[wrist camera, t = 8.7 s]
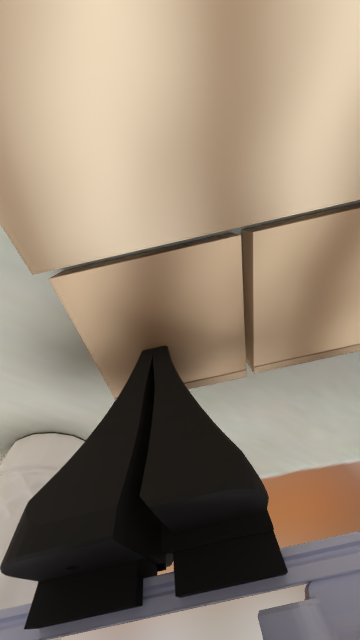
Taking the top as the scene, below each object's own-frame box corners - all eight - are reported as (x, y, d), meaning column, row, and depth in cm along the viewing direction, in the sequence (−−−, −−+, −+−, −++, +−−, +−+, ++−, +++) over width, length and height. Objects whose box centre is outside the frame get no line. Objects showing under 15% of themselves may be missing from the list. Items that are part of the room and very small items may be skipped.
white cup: (50, 480, 19) (-34, 697, 11) (-23, 447, 15) (-249, 756, 7) (119, 457, 18) (86, 676, 10) (61, 415, 14) (-79, 729, 6)
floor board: (642, -279, 4) (800, -436, 3) (443, 175, 8) (482, 171, 7) (-148, -73, 4) (-239, -154, 3) (46, 266, 9) (32, 274, 8)
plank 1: (231, 232, 9) (241, 235, 8) (239, 362, 13) (246, 376, 11) (61, 271, 9) (47, 279, 8) (121, 388, 13) (117, 404, 12)
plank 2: (416, 189, 9) (454, 186, 7) (365, 334, 13) (385, 345, 11) (241, 229, 9) (253, 232, 8) (246, 360, 13) (254, 374, 12)
